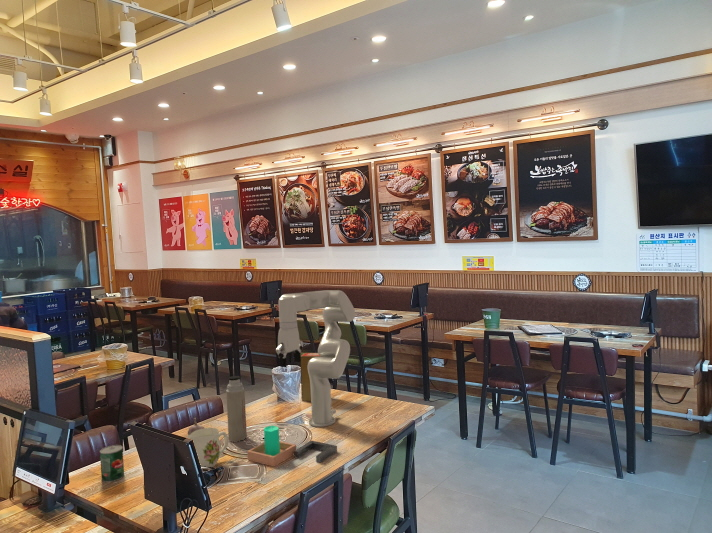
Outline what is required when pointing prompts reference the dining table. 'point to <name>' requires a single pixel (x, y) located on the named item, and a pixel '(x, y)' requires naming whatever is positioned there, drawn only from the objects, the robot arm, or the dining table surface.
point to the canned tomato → (112, 463)
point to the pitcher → (208, 445)
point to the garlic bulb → (194, 427)
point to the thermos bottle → (236, 409)
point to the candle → (271, 440)
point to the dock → (326, 448)
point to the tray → (260, 456)
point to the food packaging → (306, 375)
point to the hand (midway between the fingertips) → (290, 364)
